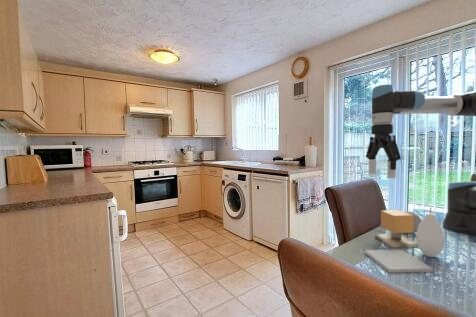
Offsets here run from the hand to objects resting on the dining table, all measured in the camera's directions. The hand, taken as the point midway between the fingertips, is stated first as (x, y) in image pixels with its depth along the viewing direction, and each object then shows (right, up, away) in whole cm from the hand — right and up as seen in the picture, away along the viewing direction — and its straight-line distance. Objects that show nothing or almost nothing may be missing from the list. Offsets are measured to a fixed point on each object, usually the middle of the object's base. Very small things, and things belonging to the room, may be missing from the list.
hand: (381, 176), depth 98 cm
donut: (+20, -27, +12) cm, 36 cm away
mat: (-4, -28, -16) cm, 33 cm away
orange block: (+7, -22, +1) cm, 24 cm away
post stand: (+7, -28, +2) cm, 29 cm away
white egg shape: (+10, -28, -12) cm, 32 cm away
